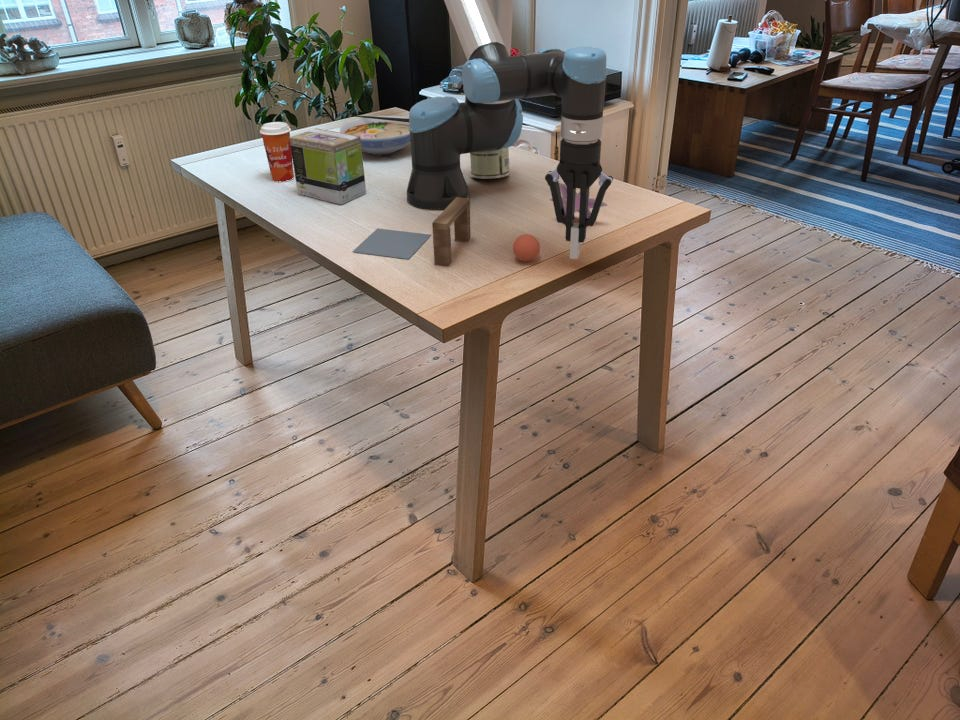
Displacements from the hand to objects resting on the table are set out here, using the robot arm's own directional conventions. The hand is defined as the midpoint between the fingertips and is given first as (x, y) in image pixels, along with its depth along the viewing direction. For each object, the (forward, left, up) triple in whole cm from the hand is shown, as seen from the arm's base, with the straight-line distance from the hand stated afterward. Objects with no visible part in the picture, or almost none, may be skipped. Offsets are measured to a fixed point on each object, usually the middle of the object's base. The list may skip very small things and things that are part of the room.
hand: (574, 255), depth 151 cm
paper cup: (-31, -85, -3) cm, 91 cm away
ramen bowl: (-59, -69, -3) cm, 91 cm away
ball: (0, -10, 0) cm, 10 cm away
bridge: (0, -26, -2) cm, 26 cm away
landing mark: (0, -40, -2) cm, 40 cm away
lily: (-23, -4, -3) cm, 23 cm away
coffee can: (-46, -32, -2) cm, 56 cm away
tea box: (-24, -67, -3) cm, 71 cm away
